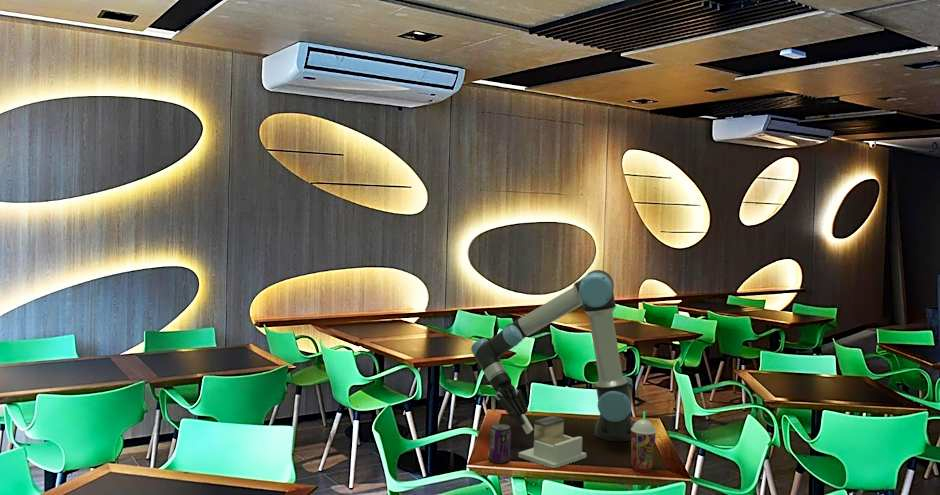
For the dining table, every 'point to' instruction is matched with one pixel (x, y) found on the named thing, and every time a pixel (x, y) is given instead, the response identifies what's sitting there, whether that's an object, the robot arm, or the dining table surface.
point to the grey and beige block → (549, 430)
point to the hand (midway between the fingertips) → (530, 431)
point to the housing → (555, 452)
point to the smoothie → (642, 444)
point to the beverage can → (500, 443)
